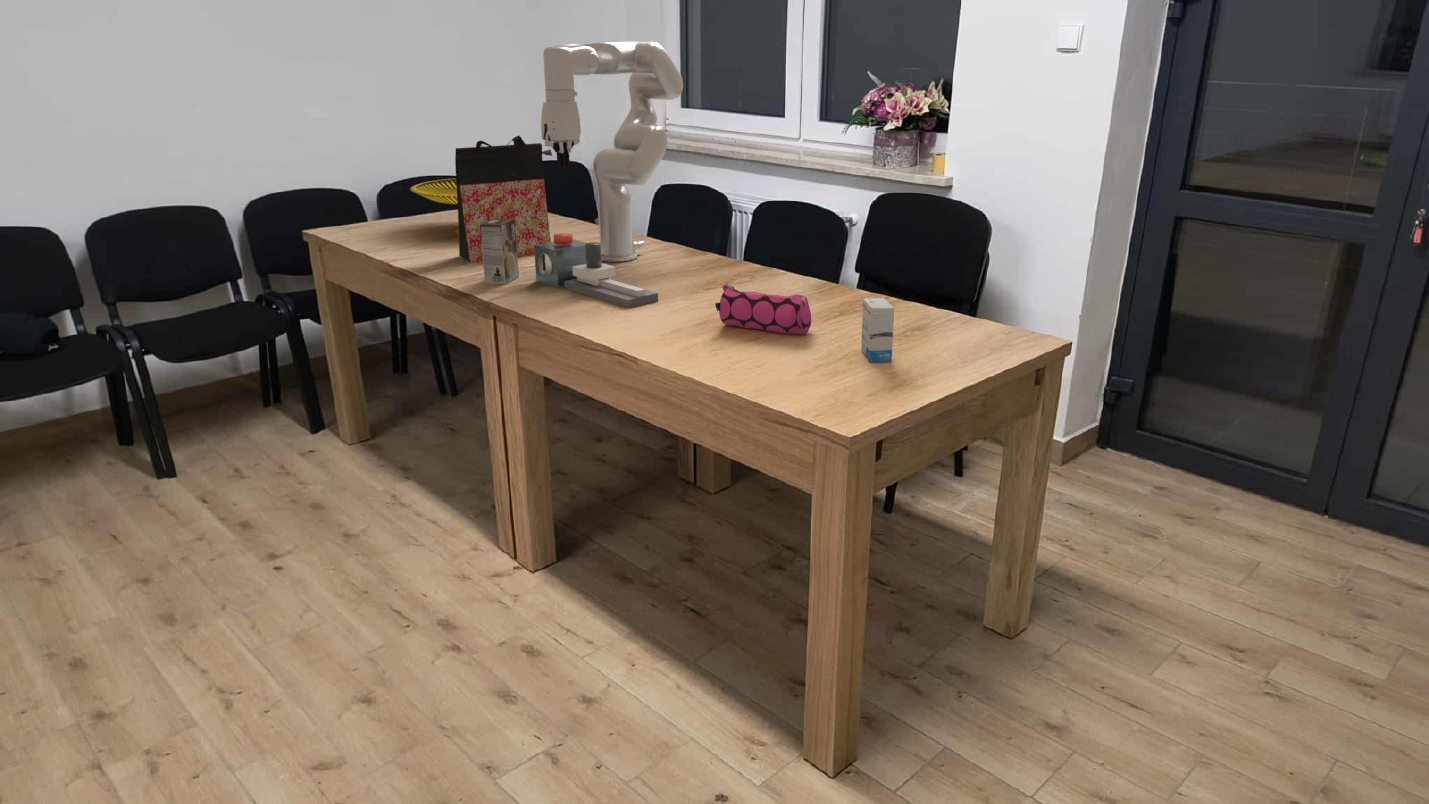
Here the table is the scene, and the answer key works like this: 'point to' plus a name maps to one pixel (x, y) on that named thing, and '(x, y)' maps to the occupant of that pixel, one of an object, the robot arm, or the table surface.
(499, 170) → the gift bag
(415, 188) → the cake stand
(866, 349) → the ink box
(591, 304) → the table surface
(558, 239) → the button
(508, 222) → the coffee box
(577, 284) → the rail bed
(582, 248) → the cabinet
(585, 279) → the carriage
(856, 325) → the table surface
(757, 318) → the pencil case
